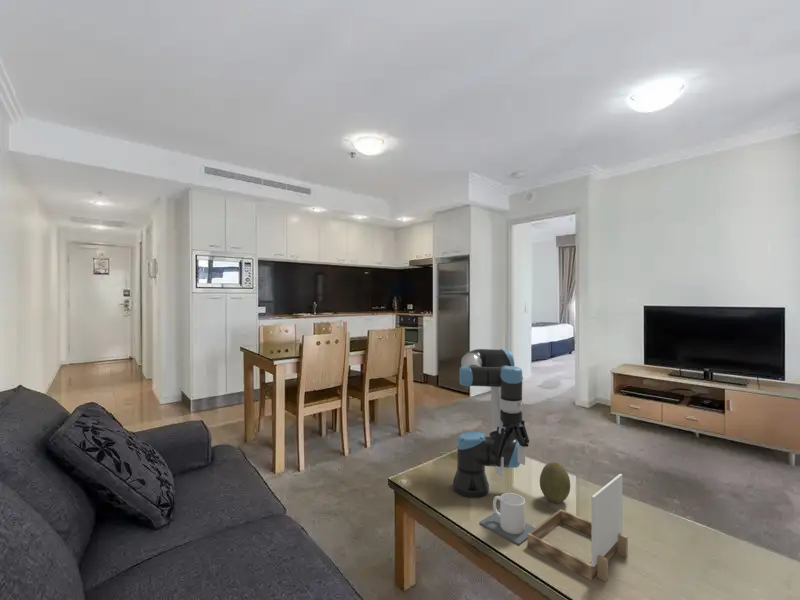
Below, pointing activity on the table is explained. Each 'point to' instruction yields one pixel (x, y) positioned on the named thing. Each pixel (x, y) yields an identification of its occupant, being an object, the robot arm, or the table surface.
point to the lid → (607, 525)
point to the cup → (511, 512)
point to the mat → (494, 525)
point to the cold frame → (560, 555)
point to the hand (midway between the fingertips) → (510, 469)
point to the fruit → (555, 482)
